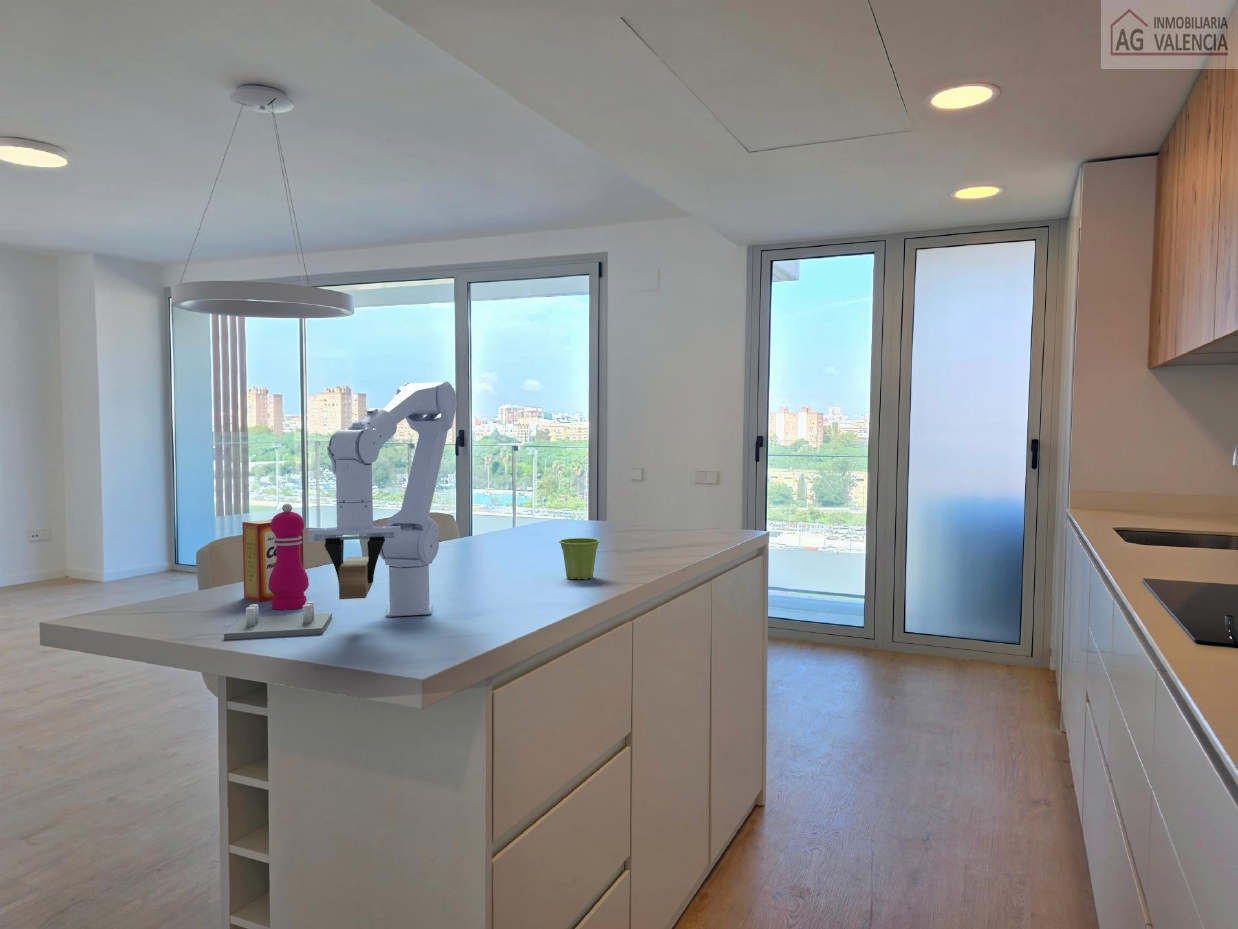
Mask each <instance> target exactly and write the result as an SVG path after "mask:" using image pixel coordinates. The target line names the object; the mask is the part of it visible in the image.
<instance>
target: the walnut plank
mask: <svg viewBox="0 0 1238 929" xmlns="http://www.w3.org/2000/svg"><path fill="white" fill-rule="evenodd" d="M368 566H369V562H368V556H348V557H346V558H345V560H343V563H342V565H341V566H340V567H339V582H338V598H339V600H353V599H355V600H357V599H359V600H360V599H366V598H367V597H368V594H369V592H370V590H371V588H372V586H373V583H368Z"/></svg>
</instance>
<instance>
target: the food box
mask: <svg viewBox="0 0 1238 929" xmlns="http://www.w3.org/2000/svg"><path fill="white" fill-rule="evenodd" d="M272 519H273V518H269V519H262V520H250V521H242V522H241V526H242V532H241V533H242V561H243V562H242V566H243V570H242V573H243V574H242V575H243V598H244V599H246V600H249V601H250V600H251V601H254V602H258V603H261V602H267V601H272V598H274V597H275V596H274V594H273V593H272V592H271V591H270V590H269V587H268V585H269V578H270V575H271V573H272V570H273V568H274V566H275V563H276V558H277V549H276V545H274V543H275V542H274V541H275V540H274V538H275V537H276V536H275V534H274V533H273V532H272V530H271V521H272ZM300 536H301V537H302V538H301V541H302V543H301V544H300V547H299V553H300V559H301V563H302V565H303V566H304V530H303V531H302V532H301V533H300ZM303 595H305V592H304V593H303Z"/></svg>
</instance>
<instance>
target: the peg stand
mask: <svg viewBox="0 0 1238 929" xmlns="http://www.w3.org/2000/svg"><path fill="white" fill-rule="evenodd" d="M332 619H333V613H332V612H324V613H323V612H322V613H320V612H319V613H315V601H307V602H306V603H305V605H303V607H302V614H301V613H300V614H286V615H268V616H267V615H265V616H259V604H258V603H256V604H255V603H254V604H249V605H248V607H245V617H241V618H240V619H239V620H238V621H236V622H235V623H234V624H233V625H232V626H231V627H230V628H228V629H227V630H226V631H225V632H224V633H223V640H224V641H227V640H243V639H259V638H260V639H262V638H276V637H277V638H278V637H279V638H281V637H282V638H283V637H296V636H297V637H298V636H312V635H313V636H317V635H323V634H324V633H325V631H326V629H327V627H328V626H329V625H330V622H331V620H332Z"/></svg>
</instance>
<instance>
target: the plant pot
mask: <svg viewBox="0 0 1238 929" xmlns="http://www.w3.org/2000/svg"><path fill="white" fill-rule="evenodd" d="M558 543H559V544H560V547H561V550H562V553H563V561H564V568H565V575H566V576H565V577H566V578H567V579H570V580H575V579H578V580H579V581H581V580H580V579H584V580H589V579H588V578H590V579H592V578H594V571H595V563H596V555H597V550H598V547H599V543H601V540H600V539H599V538H589V537H574V538H565V539H564V538H563V539H560V540H559V541H558Z"/></svg>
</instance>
